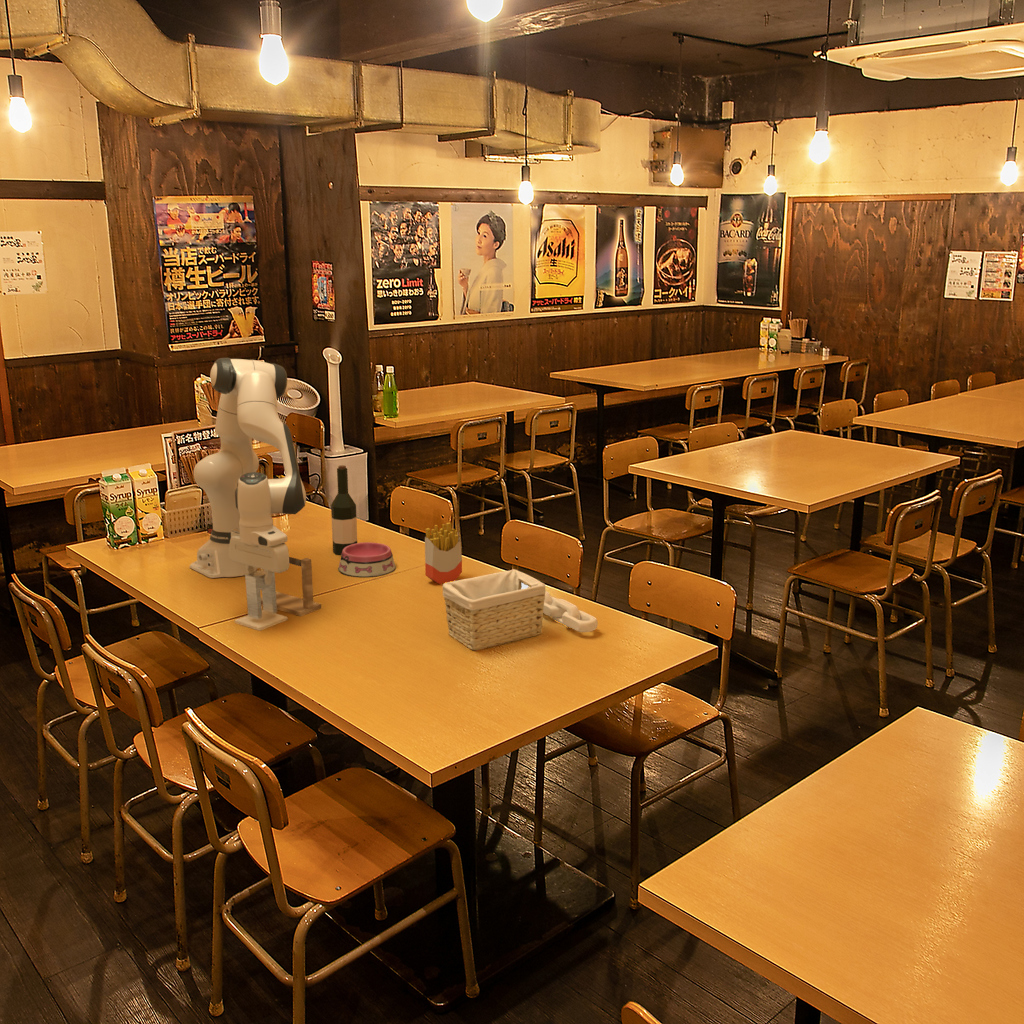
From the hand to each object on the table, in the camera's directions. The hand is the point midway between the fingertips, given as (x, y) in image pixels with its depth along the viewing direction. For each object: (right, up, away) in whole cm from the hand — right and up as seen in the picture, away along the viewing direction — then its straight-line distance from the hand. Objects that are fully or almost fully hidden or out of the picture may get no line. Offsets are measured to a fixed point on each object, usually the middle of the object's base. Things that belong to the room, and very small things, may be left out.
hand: (260, 582), depth 264 cm
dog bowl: (+22, 0, +49) cm, 53 cm away
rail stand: (+4, -8, +15) cm, 17 cm away
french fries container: (+48, -3, +37) cm, 60 cm away
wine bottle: (+12, +5, +65) cm, 66 cm away
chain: (+82, -11, +6) cm, 83 cm away
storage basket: (+64, -14, -5) cm, 66 cm away
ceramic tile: (0, -11, +3) cm, 11 cm away
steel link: (0, -9, +2) cm, 9 cm away
